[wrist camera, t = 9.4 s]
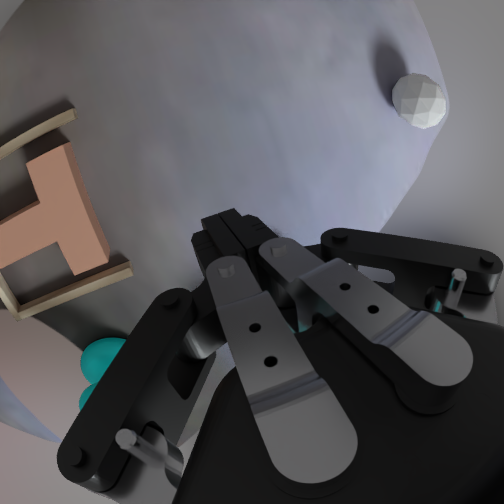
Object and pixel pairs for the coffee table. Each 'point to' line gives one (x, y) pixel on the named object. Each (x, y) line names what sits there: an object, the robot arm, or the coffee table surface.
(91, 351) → the donuts
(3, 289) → the frame
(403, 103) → the geometric ball
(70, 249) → the t piece
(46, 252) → the coffee table surface
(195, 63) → the coffee table surface
